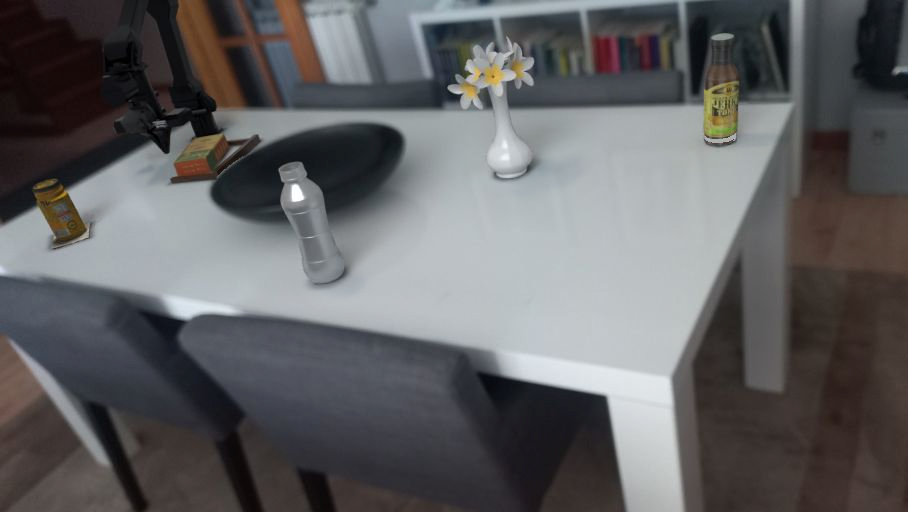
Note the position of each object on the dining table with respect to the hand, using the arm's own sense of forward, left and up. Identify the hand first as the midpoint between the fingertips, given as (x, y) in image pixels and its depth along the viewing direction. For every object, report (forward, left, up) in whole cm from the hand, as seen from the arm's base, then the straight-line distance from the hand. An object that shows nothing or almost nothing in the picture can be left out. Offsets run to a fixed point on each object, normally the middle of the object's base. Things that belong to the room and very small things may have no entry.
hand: (167, 153), depth 180 cm
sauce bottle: (+17, +131, -4) cm, 132 cm away
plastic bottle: (+58, +64, -4) cm, 87 cm away
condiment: (+35, -4, -4) cm, 35 cm away
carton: (0, +9, -4) cm, 10 cm away
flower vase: (+23, +90, -4) cm, 93 cm away
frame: (0, +12, -4) cm, 13 cm away
